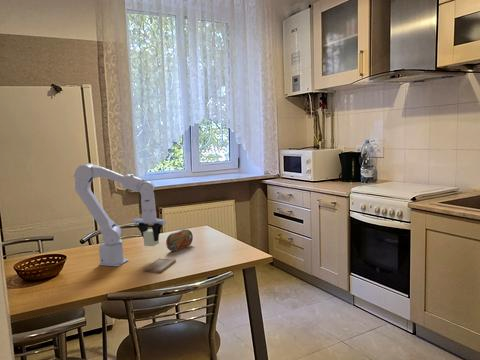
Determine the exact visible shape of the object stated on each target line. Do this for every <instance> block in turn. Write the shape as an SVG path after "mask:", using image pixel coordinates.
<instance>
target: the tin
mask: <svg viewBox="0 0 480 360" xmlns="http://www.w3.org/2000/svg"><path fill="white" fill-rule="evenodd" d="M193 238H194V236H193V233H192V231H191V230H190V229H180V230H178V231H176V232H172V233H169V235H168V236H167V238H166V240H165V241H166V242H165V244H166V245H165V246H166V248H167V250H169V251H171V252H179V251H182V250H183V249H186V248H189V247H190V246H191V245H192V243H193Z"/></svg>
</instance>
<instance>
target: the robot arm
mask: <svg viewBox="0 0 480 360" xmlns="http://www.w3.org/2000/svg"><path fill="white" fill-rule="evenodd" d="M73 177H74V189H75V192H76V193H77V195H78V196H79V198H80V199H81V200H82V201H81V202H82V203H83V204H84V205H85V207H86V209H87V210H88V212H89V213H90V214H91V215H92V217H93V219H94V220H95V222H96V223H97V224H98V227H99V230H100V234H101V235H102V240H103V242H101V243H100V245H99V247H98V253H99V264H98V265H99V266H105V267H107V266H108V267H120V266H121V265H123V264H124V263H126V262H128V261H129V259H128V258H125V254H124V247H123V246H124V245H123V239H122V238H121V236H122V235H123V230H122V228H121V226H119V225H118V224H117V223H115V221H114V220H112V219H111V218H110V216H109V215H108V214H107V212H106V210H105V209H104V208H103V206H102V204H101V203H100V201H99V200H98V198H97V197H96V196H95V194H94V193H93V191H92V190H91V188H90V187H91V185H92V180H93V179H95V178H96V179H97V178H105V179H108V180H111V181H114V182H117V183H120V184H121V186H122V187H123V188H125V189H128V190H129V191H130V190H131V191H133V192H136V193H138V192H139V194H140V202H141V203H140V204H141V217H142V218H134V219H133V224H134V225H137V224H138V225H137V226H136V227H137V229H138V230H139V231H140V233H141V235H142V238H143V239H144V236H143V232H144V231H146V230H148V229H149V225H151V229H152V230H153V233H154V241H158V239H159V240H160V232H161V230H162V227H163V226H165V225H167V219H164V218H163V219H161V218H157V210H156V198H155V192H154V190H155V184H154V183H153V181H150V180H146V179H145V178H141V177H137V176H135V174H133V173H130V174H126V175H123V174H121V173H118V172H116V171H113V170H111V169H108V168H107V167H104V166H100V165H97V164H93V163H92V162H91V163H90V162H87V163H85V164H81V165H79V166H77V168H76V169H75V172H74V174H73Z"/></svg>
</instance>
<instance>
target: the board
mask: <svg viewBox="0 0 480 360" xmlns="http://www.w3.org/2000/svg"><path fill="white" fill-rule="evenodd" d="M176 262H177V261H176V258H175V259H174V258H160V257H159V258H157V259H156V260H154V261H153V262H151V263H150V264H149V265H148V266H145V267H144V268H143V269H142V272H143V273H151V274H152V273H154V274H162V273H163V272H164V271H166V270H167V269H169V267H171V266H172V265H174V264H175V263H176Z"/></svg>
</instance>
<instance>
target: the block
mask: <svg viewBox="0 0 480 360" xmlns="http://www.w3.org/2000/svg"><path fill="white" fill-rule="evenodd" d="M143 236H144V238H143V245H144V247H155V246H156V245H158V244H160V241H159V240H160V238H159V239H158V241H154V233H153V230H152V228H148V230H146V231H144V232H143ZM143 236H142V237H143Z"/></svg>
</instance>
